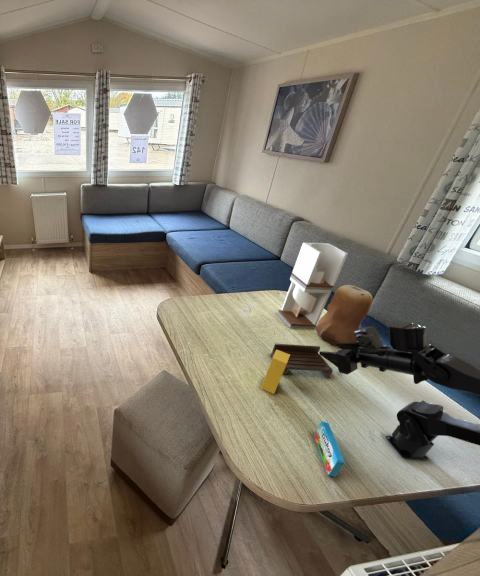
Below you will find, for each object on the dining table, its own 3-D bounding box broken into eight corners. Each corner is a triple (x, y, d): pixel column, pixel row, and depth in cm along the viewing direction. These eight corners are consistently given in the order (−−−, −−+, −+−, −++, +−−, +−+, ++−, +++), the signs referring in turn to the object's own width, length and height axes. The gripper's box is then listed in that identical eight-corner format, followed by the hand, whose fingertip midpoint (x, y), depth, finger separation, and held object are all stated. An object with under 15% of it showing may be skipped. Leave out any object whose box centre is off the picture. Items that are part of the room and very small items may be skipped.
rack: (329, 378, 107) (336, 365, 104) (282, 374, 108) (287, 361, 105) (313, 358, 116) (319, 346, 113) (270, 356, 117) (274, 343, 114)
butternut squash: (347, 338, 128) (375, 285, 116) (356, 357, 117) (387, 301, 105) (309, 329, 133) (331, 277, 121) (314, 347, 122) (339, 292, 110)
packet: (277, 384, 104) (290, 354, 98) (273, 394, 100) (286, 363, 94) (265, 378, 106) (276, 349, 100) (260, 388, 102) (272, 357, 96)
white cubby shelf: (277, 313, 144) (303, 242, 127) (300, 314, 144) (329, 243, 127) (289, 327, 134) (319, 252, 117) (314, 328, 133) (348, 253, 117)
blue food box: (334, 477, 76) (344, 462, 74) (328, 475, 77) (337, 460, 74) (319, 436, 87) (327, 421, 84) (313, 435, 87) (321, 420, 84)
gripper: (406, 323, 86) (342, 317, 100) (371, 340, 78) (307, 331, 93) (409, 361, 87) (345, 350, 101) (375, 382, 79) (311, 366, 94)
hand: (328, 348), depth 97 cm, fingers open, 9 cm apart
